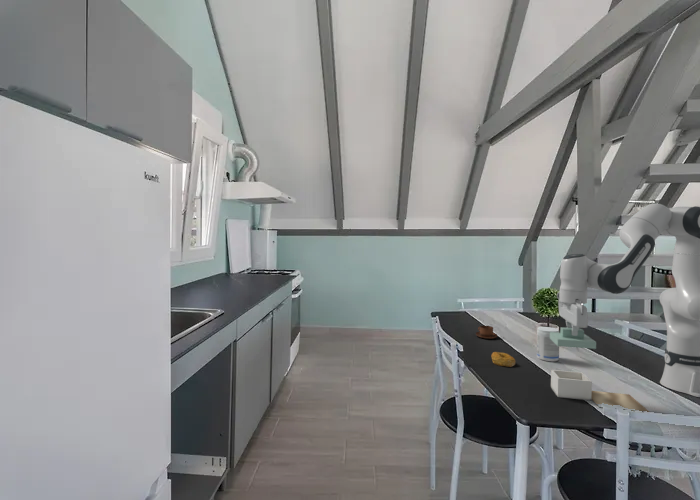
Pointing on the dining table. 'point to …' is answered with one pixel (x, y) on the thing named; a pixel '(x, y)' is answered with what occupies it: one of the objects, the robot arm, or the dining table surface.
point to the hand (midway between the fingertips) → (572, 333)
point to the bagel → (502, 359)
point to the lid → (572, 339)
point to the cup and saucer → (486, 332)
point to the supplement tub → (546, 344)
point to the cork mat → (617, 400)
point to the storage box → (571, 384)
